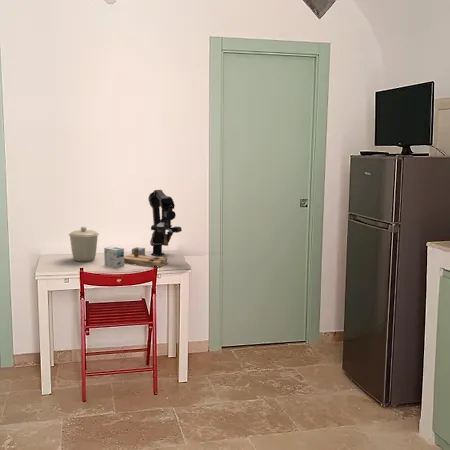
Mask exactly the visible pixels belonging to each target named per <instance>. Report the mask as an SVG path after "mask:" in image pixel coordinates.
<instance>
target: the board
mask: <svg viewBox="0 0 450 450" xmlns="http://www.w3.org/2000/svg"><path fill="white" fill-rule="evenodd" d="M127 263H128V264H129V265H134V264H136V266H142V265H143V266H144V267H151V268H154V267H153V266H154V265H157V266H158V268H160V267H162V266H161V265H163V264H165V265H167V264H168V258H167V257H166V258H165V257H158V256H151V255H150V256H149V255H145V256H143V255H138V248H136V247H134V254H132V253H130V254H128V255H124V264H127ZM166 263H167V264H166ZM159 266H160V267H159ZM163 266H164V265H163Z"/></svg>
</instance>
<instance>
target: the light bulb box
mask: <svg viewBox="0 0 450 450" xmlns="http://www.w3.org/2000/svg"><path fill="white" fill-rule="evenodd" d="M103 249H104V252H103V253H104V255H103V256H104V265H105V266H108V267H113V268H120V267H124V266H125V263H124V257H125V248H122V247H118V246H113V245H110V246H108V247H107V246H106V247H103Z"/></svg>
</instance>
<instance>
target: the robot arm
mask: <svg viewBox="0 0 450 450" xmlns="http://www.w3.org/2000/svg"><path fill="white" fill-rule="evenodd" d="M148 202H149V206H150V207H151V208H152V209H151V210H152V220H153V224H152V225H151V227H150V230H151V231H153V232H152V234H151V238H150V242H149V243H150V244H149V245H150V246H152V253H150V256H151V255H152V256H162V255H164V254H165V253H164V252H163V246H164V234H168V239H167V240H168V243H170V240H171V239H172V236H173V234H174V233H180V232H182V227H181V226H173V225H172V220H174V219H175V218H176V215H177V214H176V212H175V211H174V210H173V209H175V206H176V205H175V202H174V199H173V198H172V197H171V196H168V195H166V193H164V191H163V190H162V189H155V190H153V191H152V192H151V193H149V195H148ZM160 209H161V210H160ZM160 211H161V213H160ZM166 231H167V232H166Z"/></svg>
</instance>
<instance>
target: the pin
mask: <svg viewBox="0 0 450 450" xmlns="http://www.w3.org/2000/svg"><path fill="white" fill-rule="evenodd" d="M167 239H168V234H167V233H166V234H164V245H163V246H167V247H168V246H169V242H168V240H167Z"/></svg>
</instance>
